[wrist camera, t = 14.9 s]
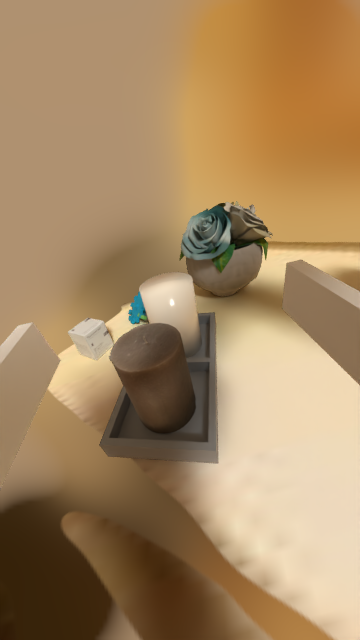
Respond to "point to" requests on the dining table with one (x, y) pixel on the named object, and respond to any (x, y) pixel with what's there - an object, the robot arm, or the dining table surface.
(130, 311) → the gear
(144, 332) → the pillar candle
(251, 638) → the dining table surface
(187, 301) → the white candle
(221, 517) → the dining table surface
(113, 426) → the tray
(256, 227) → the flower arrangement
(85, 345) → the skincare box
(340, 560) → the dining table surface
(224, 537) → the dining table surface
